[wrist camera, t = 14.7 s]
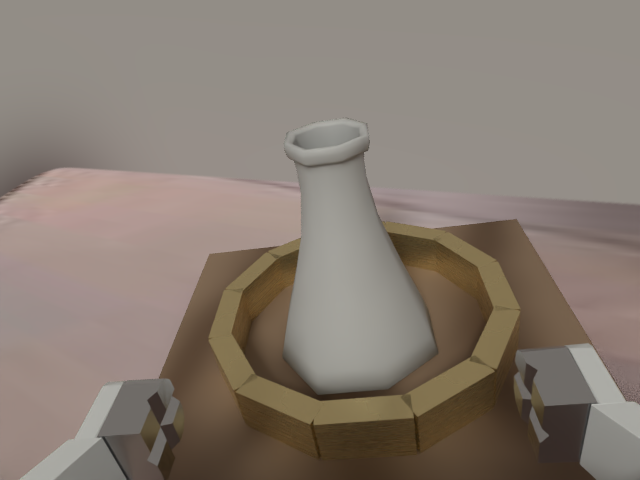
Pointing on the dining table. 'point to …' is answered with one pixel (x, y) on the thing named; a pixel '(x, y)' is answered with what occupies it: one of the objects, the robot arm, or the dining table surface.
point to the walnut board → (380, 472)
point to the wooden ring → (385, 411)
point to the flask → (348, 273)
